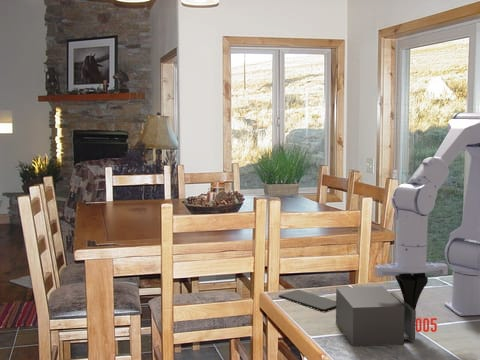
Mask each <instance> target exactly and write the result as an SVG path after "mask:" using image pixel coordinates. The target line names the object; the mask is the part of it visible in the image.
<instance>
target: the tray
mask: <svg viewBox="0 0 480 360" xmlns="http://www.w3.org/2000/svg"><path fill="white" fill-rule="evenodd" d="M389 293H391V294H392V295H393V296H394V297H395V298H396V299H397V300H398V301H400V302H401V303H402V304H403V305H404V306H405V313H404V340H409V341H410V342H415V341H416V322H417V321H416V320H417V316H416V315H417V312H416V309H415V310H414V309H413V308H412V307H411V306H410V305H408V304H407V303H406V302H405V301H404V299H403V298H402V297H400V296H399V295H398V293H395V291H389Z"/></svg>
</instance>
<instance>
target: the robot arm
mask: <svg viewBox="0 0 480 360" xmlns="http://www.w3.org/2000/svg"><path fill="white" fill-rule="evenodd" d="M462 151H466V152H467V153H468V154H469V156H470V163H469V164H470V165H469V171H468V178H467V184H466V190H465V191H466V192H465V196H464V197H465V198H464V204H463V205H464V206H463V212H462V219H461V225H460V226H458V228H456V229H455V230H453V231H451V232H450V233H449V238H448V242H447V244H446V246H445V249H444V259H445V262H446V263H445V262H444V263H443V262H440V263H439V262H427V255H428V253H427V252H428V224H429V223H428V222H429V214H430V213H431V212H432V211H433V210H434V207H435V204H436V199H437V197H438V191H439V189H440V188H441V187H442V185H443V184H444V182H445V181H446V180H447V178H448V177H449V175H450V168H449V166H450V165H451V163H453V162H454V160H455V159H456V158H457V157H458V156H459V154H460V153H462ZM391 205H392V207H393V209H394V217H395V220H397V233H396V234H397V235H396V237H397V241H396V242H397V243H396V262H395V263H387V264H386V263H385V264H378V265H377V264H376V265H374V275H375V277H377V278H383V277H391V276H392V277H394V278H395V280H396V282H397V284H398V286H399V290H400V292H401V295H402V299H403V300H404V301H405V302H406V303H407V304H408V305H410V306H411V307H412V308H413V309H414V310H415V311H416V309H417V305H418V302H419V299H420V296H421V294H422V292H423V290H424V288H425V287H426V286H427V284H428V282H429V278H428V277H427V276H426V275H443V276H445V275H446V276H447V275H448V272H449V269H450V270H452V282H451V283H452V284H451V285H452V286H451V301H448V302H447V301H446V302H444V306H446V307H447V308H448V309H450V310H451V311H453V312H454V313H455V314H456V315H458V316H462V317H463V316H480V112H459V111H458V112H455V113H454V114H453V115H452V116H451V119H449V121H448V123H447V134H446V136H445V138H444V139H443V141H442V142H441V144H440V146H439V147H438V149H437V151H436V152H435V154H434V156H430V157H426V158H424V159H423V160H422V161H421V164H420V165H419V166H418V167H417V169H416V170H415V172H414V173H413V174H412V175H411V177H410V178H409V179H408V181H407V182H406V183H401V184H400V185H398V186H397V187H396V188H395V190H394V192H393V196H392V197H391Z"/></svg>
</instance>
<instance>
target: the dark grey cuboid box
mask: <svg viewBox="0 0 480 360" xmlns="http://www.w3.org/2000/svg"><path fill="white" fill-rule="evenodd" d="M335 295H336V296H335V301H336V309H335V323H336V324H337V326H338V327H339V329H340V330H341V331H342V333H343V334H344V336H345V337H346V339H347V340H348V341H349V342H350V344H351V346H352V347H353V346H354V347H357V346H358V347H360V346H361V347H362V346H381V345H382V346H384V345H404V343H405V341H404V340H405V339H404V313H405V306H404V305H403V304H402V303H401V302H400V301H398V300H397V299H396V298H395V297H394V296H393V295H392V294H391V293H390V291H389V290H387V289H386V288H385V287H384V286H357V287H356V286H353V287H351V286H350V287H347V286H346V287H336V291H335Z"/></svg>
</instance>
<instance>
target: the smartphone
mask: <svg viewBox="0 0 480 360" xmlns="http://www.w3.org/2000/svg"><path fill="white" fill-rule="evenodd" d="M278 297H279V298H281V299H285V300H287V301H290V300H291V301H290V302H293V301H294V302H293V303H296V302H298V303H301V304H303V305H302V306H304V305H306V306H305V307H307V306H309V307H308V308H310V307H312V308H311V309H313V308H315V309H314V310H316V309H318V310H317V311H319V310H320V312H322V311H326V312H329V311H328V310H330V311H332V309H333V310H336V309H335V308H336V300H334V299H330V298H326V297H323V296H321V295H317V294H314V293H311V292H307V291H304V290H300V289H295V290H291V291H287V292H284V293H280V294H278ZM298 303H297V304H298ZM301 304H300V305H301Z"/></svg>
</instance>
